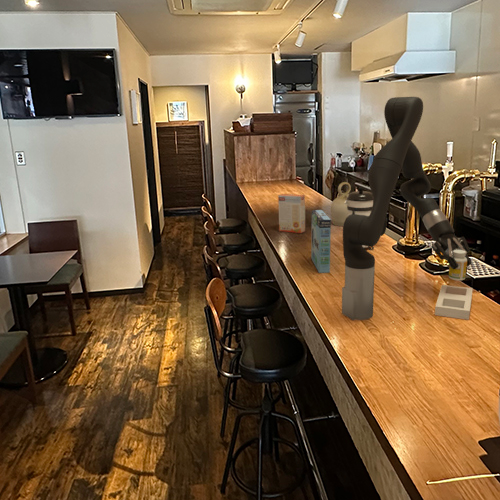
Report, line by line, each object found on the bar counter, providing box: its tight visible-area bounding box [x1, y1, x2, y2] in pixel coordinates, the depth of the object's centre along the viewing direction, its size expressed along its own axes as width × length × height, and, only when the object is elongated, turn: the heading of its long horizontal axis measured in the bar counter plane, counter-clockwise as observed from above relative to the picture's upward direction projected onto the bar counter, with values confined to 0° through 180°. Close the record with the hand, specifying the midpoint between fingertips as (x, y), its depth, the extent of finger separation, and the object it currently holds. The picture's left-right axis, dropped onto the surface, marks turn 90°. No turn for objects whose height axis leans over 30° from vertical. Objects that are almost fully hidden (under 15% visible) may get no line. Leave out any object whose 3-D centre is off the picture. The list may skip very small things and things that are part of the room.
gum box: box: [310, 209, 332, 274], centre depth 199 cm, size 19×5×23 cm, turn 2°
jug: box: [330, 181, 352, 227], centre depth 271 cm, size 15×16×25 cm
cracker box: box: [277, 193, 306, 234], centre depth 260 cm, size 14×6×21 cm, turn 58°
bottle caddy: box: [434, 284, 473, 321], centre depth 156 cm, size 21×10×3 cm, turn 153°
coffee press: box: [344, 186, 388, 251], centre depth 222 cm, size 17×16×30 cm
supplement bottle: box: [448, 250, 468, 281], centre depth 158 cm, size 5×5×10 cm
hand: (462, 266), depth 156 cm, fingers closed on supplement bottle, 5 cm apart
